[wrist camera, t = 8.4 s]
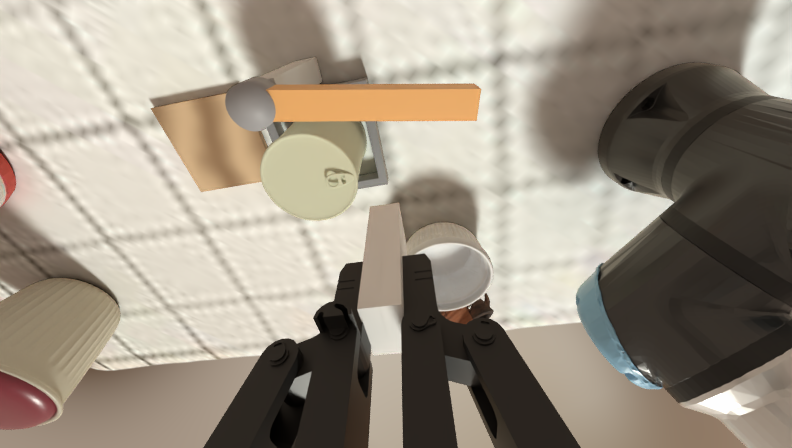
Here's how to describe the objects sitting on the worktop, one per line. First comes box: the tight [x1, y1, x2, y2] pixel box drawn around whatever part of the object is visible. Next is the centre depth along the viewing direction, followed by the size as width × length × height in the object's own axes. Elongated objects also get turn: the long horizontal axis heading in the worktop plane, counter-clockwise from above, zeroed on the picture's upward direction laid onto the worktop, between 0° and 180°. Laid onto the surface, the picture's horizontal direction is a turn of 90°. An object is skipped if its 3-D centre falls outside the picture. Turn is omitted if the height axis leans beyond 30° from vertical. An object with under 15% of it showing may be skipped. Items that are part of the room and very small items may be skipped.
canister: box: [0, 278, 120, 430], centre depth 45 cm, size 18×18×21 cm
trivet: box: [151, 93, 268, 192], centre depth 38 cm, size 11×11×1 cm
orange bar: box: [225, 77, 481, 131], centre depth 21 cm, size 3×16×2 cm, turn 90°
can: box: [260, 121, 367, 221], centre depth 33 cm, size 9×9×12 cm
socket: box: [260, 57, 388, 189], centre depth 31 cm, size 12×15×14 cm
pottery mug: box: [439, 293, 493, 324], centre depth 52 cm, size 12×10×8 cm
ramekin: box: [406, 222, 493, 311], centre depth 45 cm, size 13×13×7 cm
